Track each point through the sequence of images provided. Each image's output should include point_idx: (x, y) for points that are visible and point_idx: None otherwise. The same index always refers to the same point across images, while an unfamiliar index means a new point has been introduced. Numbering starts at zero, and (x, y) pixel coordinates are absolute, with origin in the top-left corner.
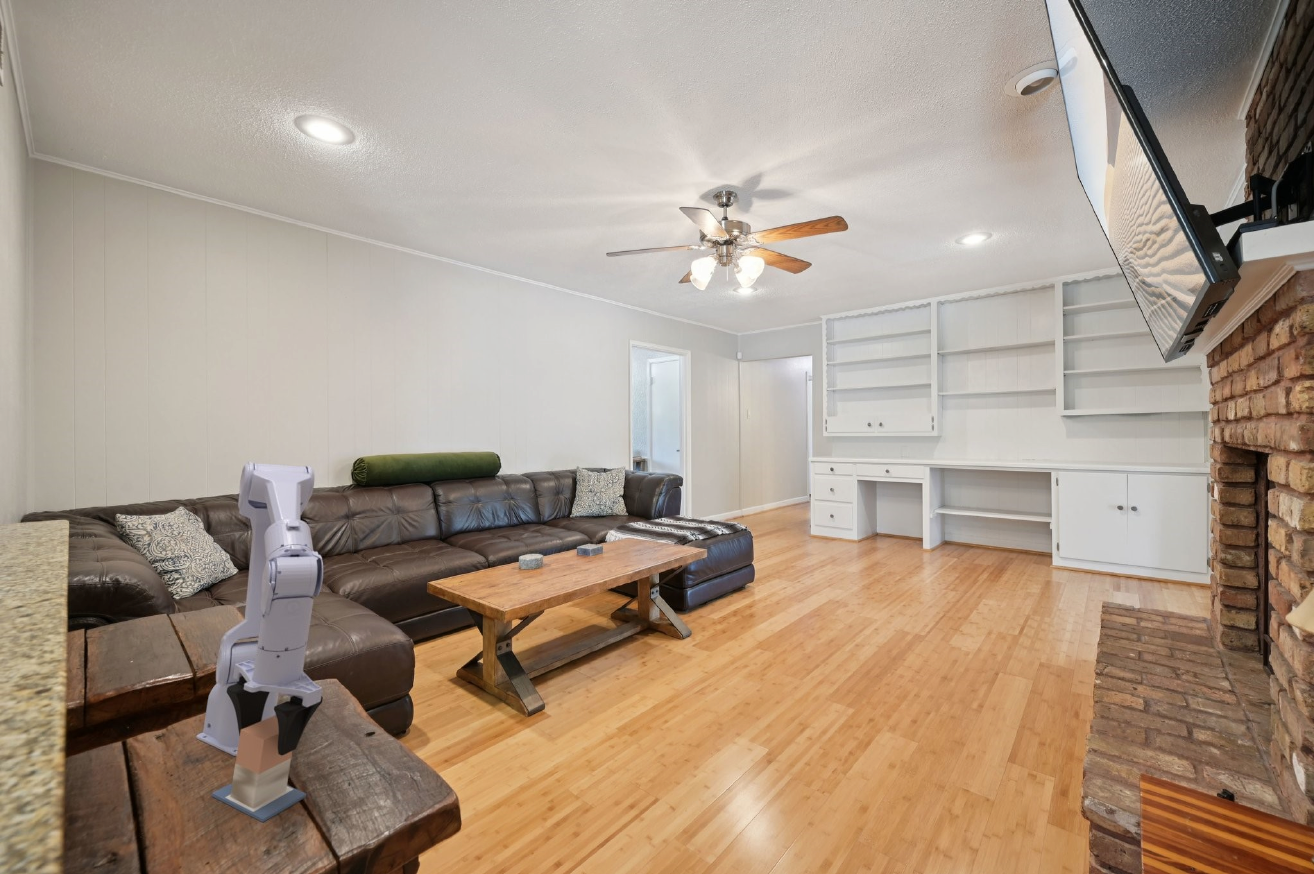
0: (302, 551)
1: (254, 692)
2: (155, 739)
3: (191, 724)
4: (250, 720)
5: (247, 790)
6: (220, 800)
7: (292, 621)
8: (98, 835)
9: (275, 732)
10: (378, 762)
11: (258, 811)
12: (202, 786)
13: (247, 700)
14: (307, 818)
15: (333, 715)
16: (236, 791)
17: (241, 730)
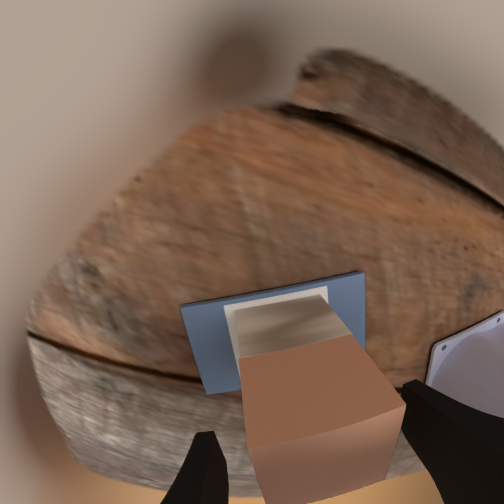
0: None
1: (483, 502)
2: None
3: None
4: (427, 431)
5: (268, 320)
6: (331, 277)
7: None
8: (386, 88)
9: (273, 479)
10: None
11: (217, 313)
12: (405, 272)
13: (481, 473)
14: (140, 362)
15: (396, 464)
16: (306, 305)
17: (401, 404)
